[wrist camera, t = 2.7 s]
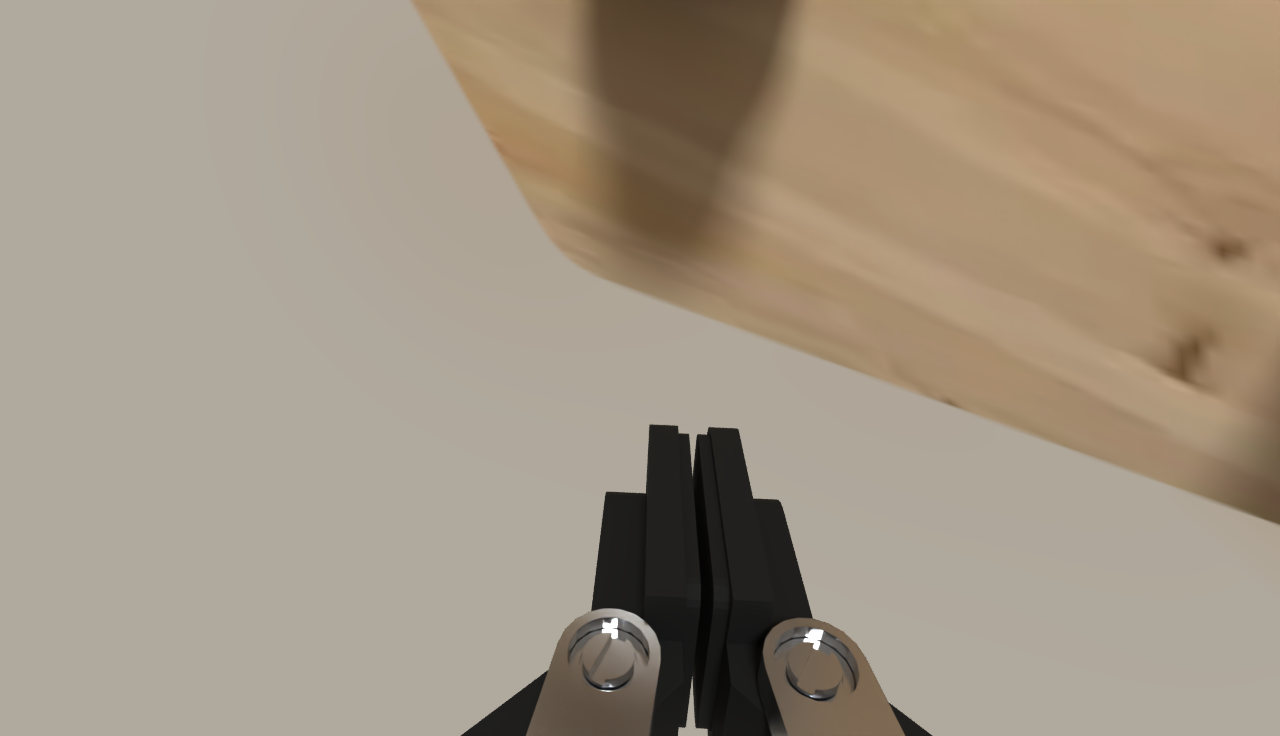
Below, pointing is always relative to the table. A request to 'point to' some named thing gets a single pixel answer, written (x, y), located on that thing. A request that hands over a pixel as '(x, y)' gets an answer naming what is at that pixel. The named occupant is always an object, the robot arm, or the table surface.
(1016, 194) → the table surface
